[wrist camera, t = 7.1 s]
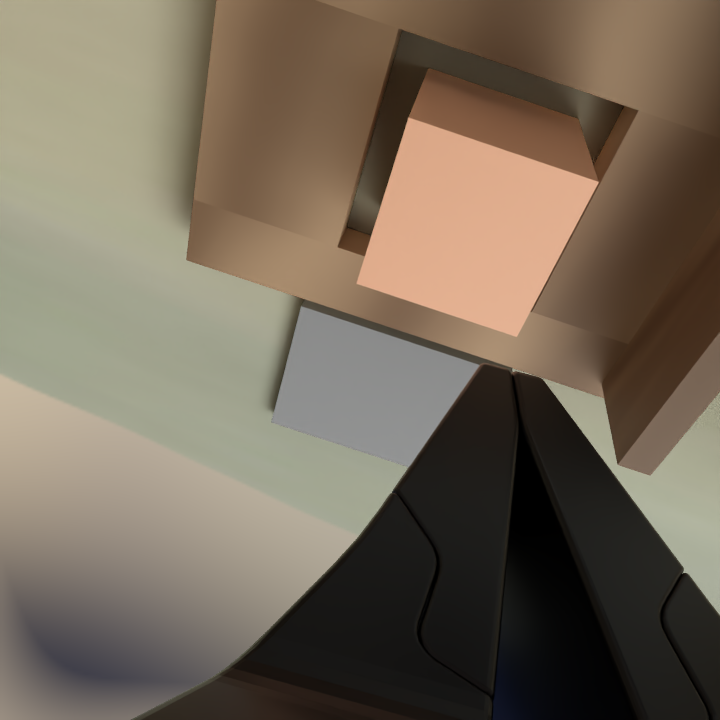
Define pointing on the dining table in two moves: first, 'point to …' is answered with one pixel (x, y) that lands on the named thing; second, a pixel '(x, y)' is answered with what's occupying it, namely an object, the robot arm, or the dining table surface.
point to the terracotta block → (478, 203)
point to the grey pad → (368, 383)
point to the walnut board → (590, 236)
